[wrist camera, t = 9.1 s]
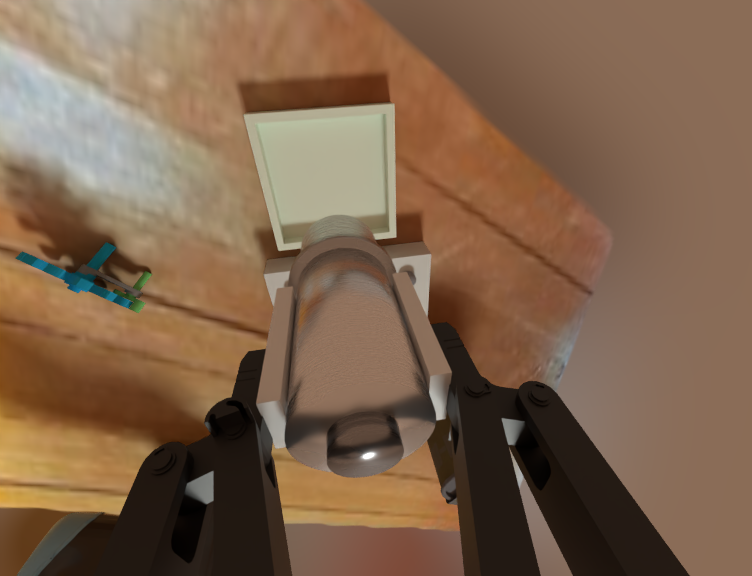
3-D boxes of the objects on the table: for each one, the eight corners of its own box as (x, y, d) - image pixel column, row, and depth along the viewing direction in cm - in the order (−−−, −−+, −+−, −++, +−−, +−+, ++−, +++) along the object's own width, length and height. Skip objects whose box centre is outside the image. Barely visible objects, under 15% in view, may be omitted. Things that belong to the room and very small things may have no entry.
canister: (434, 360, 55) (484, 482, 39) (476, 376, 59) (536, 491, 43) (399, 397, 59) (430, 520, 43) (440, 409, 64) (482, 525, 47)
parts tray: (280, 243, 38) (278, 251, 37) (247, 112, 30) (243, 114, 29) (392, 230, 40) (396, 237, 38) (390, 101, 32) (394, 103, 30)
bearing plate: (298, 367, 51) (296, 389, 47) (267, 259, 39) (262, 278, 36) (418, 349, 53) (426, 368, 49) (423, 241, 41) (433, 257, 38)
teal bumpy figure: (13, 263, 33) (5, 263, 26) (55, 220, 35) (57, 209, 28) (126, 312, 40) (143, 322, 33) (155, 274, 42) (177, 275, 35)
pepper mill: (302, 292, 22) (288, 516, 11) (284, 212, 19) (236, 417, 8) (385, 282, 23) (450, 484, 12) (382, 201, 20) (471, 379, 8)
